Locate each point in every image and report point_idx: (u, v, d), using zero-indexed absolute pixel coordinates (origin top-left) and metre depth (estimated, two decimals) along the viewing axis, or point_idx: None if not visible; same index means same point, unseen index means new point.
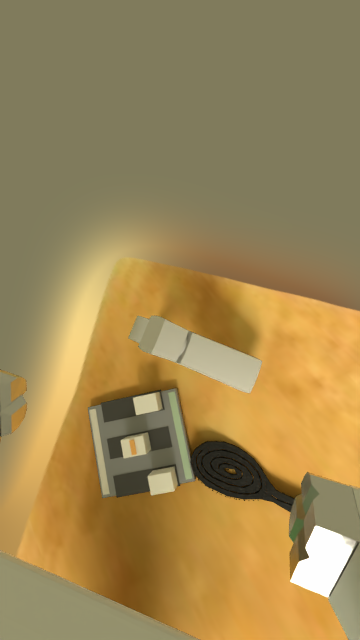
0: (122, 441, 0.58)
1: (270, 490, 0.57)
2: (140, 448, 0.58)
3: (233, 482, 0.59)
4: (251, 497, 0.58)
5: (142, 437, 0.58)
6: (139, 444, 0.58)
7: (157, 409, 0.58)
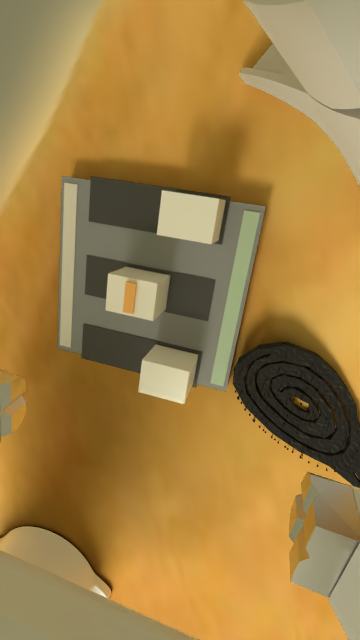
0: (111, 277, 0.26)
1: (357, 466, 0.30)
2: (144, 306, 0.26)
3: (295, 421, 0.31)
4: (314, 455, 0.32)
5: (155, 286, 0.26)
6: (145, 297, 0.26)
7: (209, 240, 0.24)
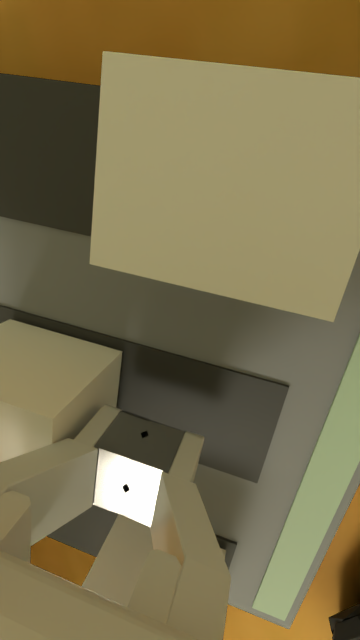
0: None
1: None
2: None
3: None
4: None
5: (48, 425, 0.07)
6: (21, 451, 0.08)
7: (327, 305, 0.05)
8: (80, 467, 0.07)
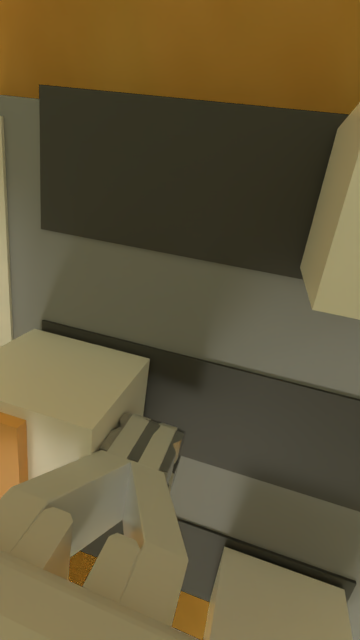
0: None
1: None
2: None
3: None
4: None
5: (87, 436, 0.07)
6: (58, 463, 0.08)
7: None
8: (115, 480, 0.07)
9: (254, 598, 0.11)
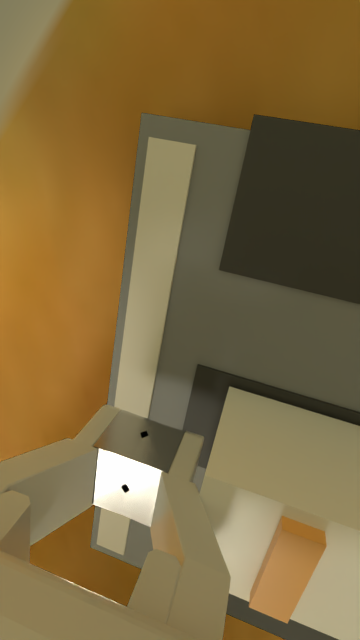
0: (217, 490, 0.07)
1: None
2: (338, 601, 0.07)
3: None
4: None
5: None
6: (352, 579, 0.07)
7: None
8: (80, 467, 0.07)
9: None
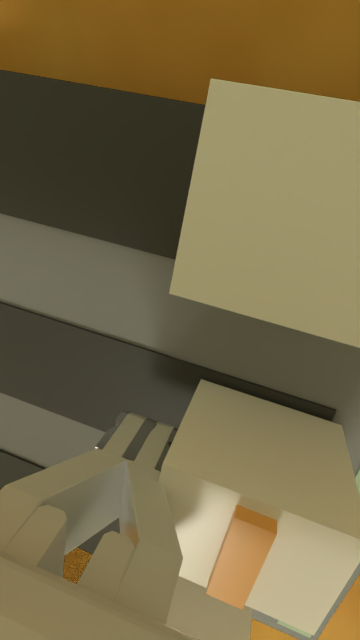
0: (175, 478, 0.07)
1: None
2: (291, 589, 0.07)
3: None
4: None
5: (356, 546, 0.06)
6: (304, 567, 0.07)
7: None
8: (110, 478, 0.07)
9: None
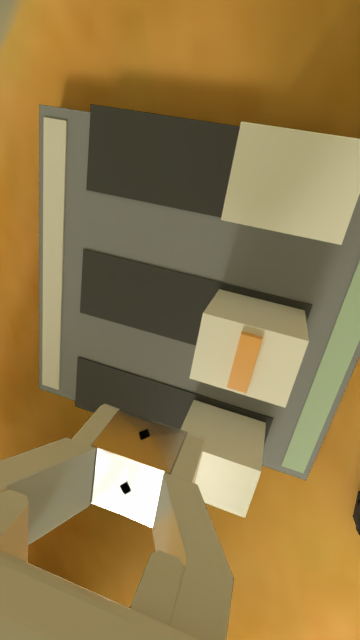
0: (209, 321, 0.13)
1: None
2: (272, 379, 0.13)
3: None
4: None
5: (302, 345, 0.13)
6: (277, 363, 0.13)
7: (338, 237, 0.11)
8: (78, 466, 0.07)
9: (208, 420, 0.18)
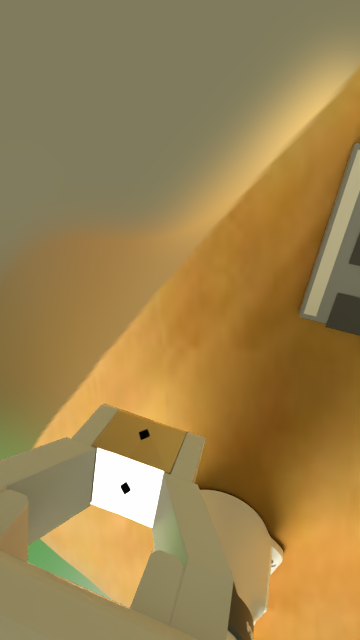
0: None
1: None
2: None
3: None
4: None
5: None
6: None
7: None
8: (78, 466, 0.07)
9: None
